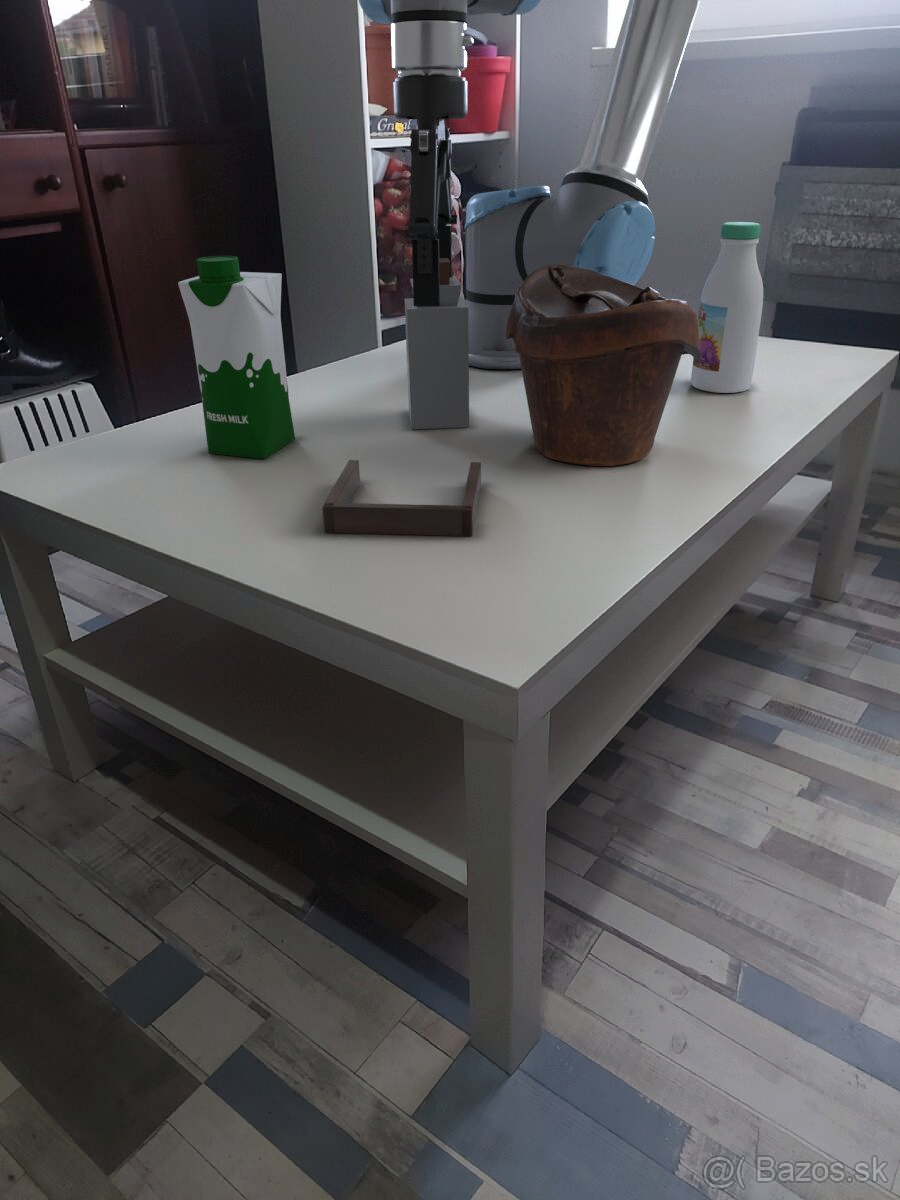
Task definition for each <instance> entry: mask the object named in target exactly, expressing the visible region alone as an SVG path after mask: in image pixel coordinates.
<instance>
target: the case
mask: <svg viewBox="0 0 900 1200" xmlns="http://www.w3.org/2000/svg"><path fill="white" fill-rule="evenodd" d="M506 338H507V339H509V338H513V341H514V343H515V351H516V353H519V356H520V363H521V368H522V369H521V374H522V379H523V386H524V390H525V395H526V396H525V397H526V401H527V407H528V414H529V418H530V425H531V430H532V436H533V443H534V446H535V448H536V449H537V450H538V451H539V452H540V453H541V454H542V455H543V456H545V457H546V458H548V459H550V460H553V461H558V462H561V463H567V464H572V465H581V466H591V467H592V466H593V467H614V466H624V465H629V464H633V463H636V462H638V461H641V460H643V459H644V458H645V457H646V456H648V455H649V453H650V452H651V451H652V450H653V448H654V445H655V438H656V435H657V433H658V430H659V426H660V423H661V421H662V416H663V414H664V410H665V408H666V404H667V401H668V398H669V396H670V393H671V389H672V387H673V383H674V380H675V377H676V374H677V371H678V368H679V364H680V361H681V358H682V356H684V355H690V356H692V358H693V357H694V358H695V360H696V361H697V362H700V358H701V352H700V344H699V330H698V315H697V313H696V312H695V310H694V309H693V308H692V307H690V304H689V302H688V301H686V300H682V299H677V298H667V297H663V296H661V295H660V292H659V291H657V290H655V289H653V288H652V287H650V286H647V287H645V288H642V287H640V286H637V285H636V284H635V285H632V284H629V283H626V282H624V281H621V280H618V279H615V278H612V277H609V276H606V275H603V274H600V273H598V272H595V271H592V270H588V269H584V268H580V267H575V266H570V265H550V266H545V267H542V268H539V269H537V270H536V271H534V272H532V273H531V274H530V275H529V276H528V277H527V278H526V279H525V280H524V282H523V283H522V284H521V285H520V286H519V288H518V289H517V292H516V295H515V298H514V302H513V305H512V308H511V312H510V315H509V318H508V321H507V329H506Z"/></svg>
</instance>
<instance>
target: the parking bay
mask: <svg viewBox="0 0 900 1200" xmlns="http://www.w3.org/2000/svg"><path fill="white" fill-rule="evenodd" d="M360 485H361V472H360V461H359V459H349V460H347V462H346V465H345V466H344V468H343V469H342V472H341V473H340V475H339V477H338V478H337V480H336V481H335V484H334V485H333V488H332V489H331V491H330V492H329V494H328V496H327V498H326V500H325V501H324V503H323V505H322V507H321V509H322V518H323V519H322V520H323V529H324V533H325V534H359V535H360V534H361V535H362V534H364V535H399V536H401V535H402V536H403V535H404V536H442V537H443V536H444V537H447V536H448V537H450V536H451V537H473V534H474V528H475V523H476V516H477V512H478V511H477V510H478V506H479V499H480V493H481V487H482V462H481V461H471V462H470V463H469V469H468V474H467V479H466V484H465V488H464V492H463V497H462V502H461V505H458V504H457V505H456V504H455V505H454V504H453V505H452V504H450V505H449V504H410V503H409V504H407V503H403V504H402V503H362V502H361V503H360V502H357V503H356V502H352V501H353V499H354V497H355V495H356V493H357V491H358V489H359V488H360Z"/></svg>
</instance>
